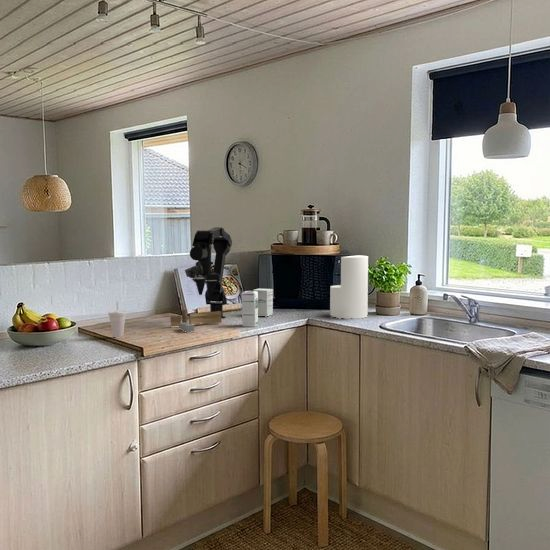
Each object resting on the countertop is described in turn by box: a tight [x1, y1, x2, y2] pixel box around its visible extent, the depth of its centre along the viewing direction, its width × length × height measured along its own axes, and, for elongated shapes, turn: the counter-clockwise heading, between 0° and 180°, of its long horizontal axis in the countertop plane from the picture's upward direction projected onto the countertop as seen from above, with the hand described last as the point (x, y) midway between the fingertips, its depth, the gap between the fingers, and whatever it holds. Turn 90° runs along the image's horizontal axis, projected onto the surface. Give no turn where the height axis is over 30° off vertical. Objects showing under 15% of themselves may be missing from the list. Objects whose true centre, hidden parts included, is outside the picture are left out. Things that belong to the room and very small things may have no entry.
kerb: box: [178, 321, 195, 333], centre depth 226 cm, size 9×3×3 cm, turn 29°
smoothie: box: [108, 300, 127, 338], centre depth 212 cm, size 6×6×14 cm
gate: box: [188, 311, 223, 325], centre depth 239 cm, size 2×14×5 cm, turn 119°
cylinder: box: [329, 255, 369, 319], centre depth 261 cm, size 17×17×28 cm
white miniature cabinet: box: [241, 290, 259, 328], centre depth 237 cm, size 6×6×14 cm
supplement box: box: [252, 288, 274, 318], centre depth 264 cm, size 7×7×13 cm
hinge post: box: [170, 309, 189, 327], centre depth 234 cm, size 2×7×7 cm, turn 119°
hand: (204, 295), depth 243 cm, fingers open, 9 cm apart
